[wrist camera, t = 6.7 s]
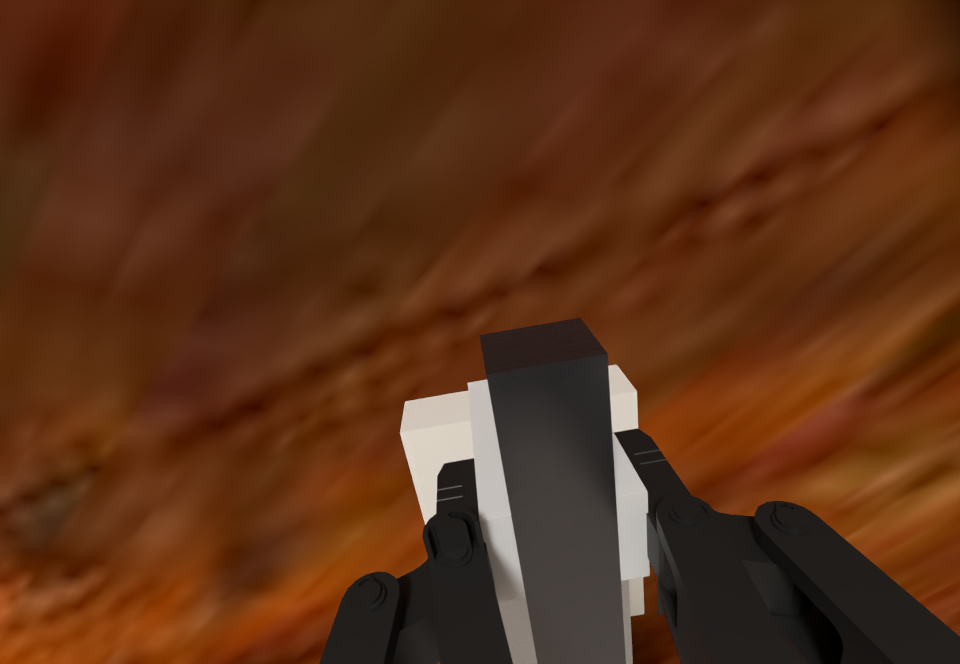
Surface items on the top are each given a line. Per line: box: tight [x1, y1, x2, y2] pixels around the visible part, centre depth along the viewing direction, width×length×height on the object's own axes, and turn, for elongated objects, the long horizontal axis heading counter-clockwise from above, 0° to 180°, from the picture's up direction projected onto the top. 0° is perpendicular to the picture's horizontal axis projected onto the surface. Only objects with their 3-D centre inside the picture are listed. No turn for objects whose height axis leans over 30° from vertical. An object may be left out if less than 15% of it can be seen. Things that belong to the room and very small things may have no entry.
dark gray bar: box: [480, 318, 633, 664], centre depth 16 cm, size 24×6×6 cm, turn 9°
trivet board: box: [400, 365, 644, 616], centre depth 27 cm, size 16×12×3 cm
